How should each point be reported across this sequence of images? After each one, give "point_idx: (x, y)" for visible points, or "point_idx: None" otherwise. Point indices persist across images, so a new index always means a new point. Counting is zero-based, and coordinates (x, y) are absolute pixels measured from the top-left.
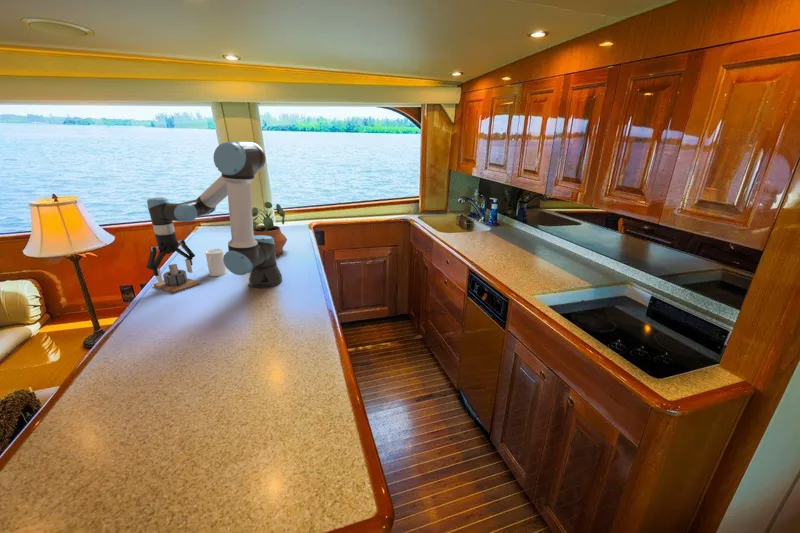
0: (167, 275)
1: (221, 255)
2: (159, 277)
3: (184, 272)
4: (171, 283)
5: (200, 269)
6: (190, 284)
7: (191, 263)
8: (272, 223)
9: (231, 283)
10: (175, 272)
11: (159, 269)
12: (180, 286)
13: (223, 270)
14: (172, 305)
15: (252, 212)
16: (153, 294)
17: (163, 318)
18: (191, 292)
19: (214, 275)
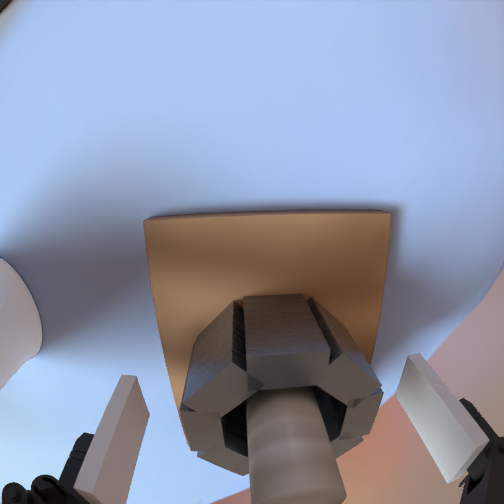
0: (358, 415)
1: None
2: (442, 388)
3: (210, 380)
4: (347, 335)
5: (69, 430)
6: (226, 236)
7: (81, 449)
8: None
9: (34, 51)
10: (297, 417)
11: (475, 441)
12: (304, 268)
13: None
14: (457, 58)
15: None
16: (430, 317)
17: (498, 12)
18: (295, 110)
19: (21, 284)
